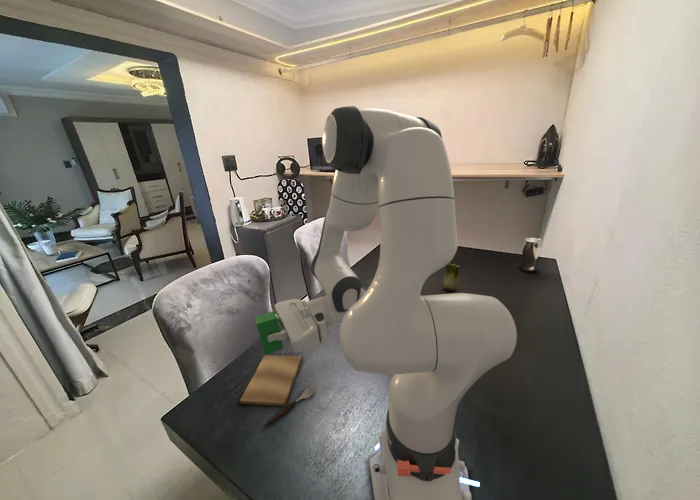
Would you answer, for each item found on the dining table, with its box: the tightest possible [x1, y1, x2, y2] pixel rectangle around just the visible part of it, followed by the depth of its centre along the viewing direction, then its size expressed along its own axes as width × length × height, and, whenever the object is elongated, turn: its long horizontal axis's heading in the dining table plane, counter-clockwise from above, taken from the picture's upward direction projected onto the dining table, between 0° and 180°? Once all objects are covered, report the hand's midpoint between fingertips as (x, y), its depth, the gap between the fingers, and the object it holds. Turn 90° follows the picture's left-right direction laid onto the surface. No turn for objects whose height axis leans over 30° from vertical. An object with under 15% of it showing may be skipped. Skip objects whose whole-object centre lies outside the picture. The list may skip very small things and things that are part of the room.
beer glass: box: [519, 237, 543, 273], centre depth 123 cm, size 7×7×15 cm
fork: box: [262, 378, 320, 429], centre depth 66 cm, size 3×16×2 cm, turn 134°
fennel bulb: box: [442, 262, 461, 292], centre depth 111 cm, size 6×5×12 cm
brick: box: [254, 310, 284, 355], centre depth 70 cm, size 5×4×10 cm
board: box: [239, 354, 303, 407], centre depth 75 cm, size 16×12×1 cm
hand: (265, 332), depth 69 cm, fingers closed on brick, 3 cm apart
